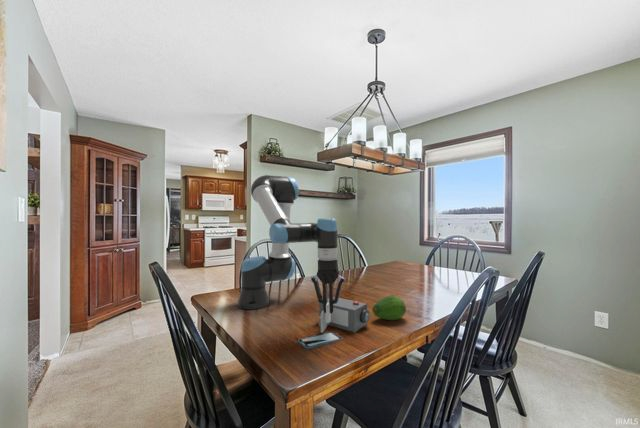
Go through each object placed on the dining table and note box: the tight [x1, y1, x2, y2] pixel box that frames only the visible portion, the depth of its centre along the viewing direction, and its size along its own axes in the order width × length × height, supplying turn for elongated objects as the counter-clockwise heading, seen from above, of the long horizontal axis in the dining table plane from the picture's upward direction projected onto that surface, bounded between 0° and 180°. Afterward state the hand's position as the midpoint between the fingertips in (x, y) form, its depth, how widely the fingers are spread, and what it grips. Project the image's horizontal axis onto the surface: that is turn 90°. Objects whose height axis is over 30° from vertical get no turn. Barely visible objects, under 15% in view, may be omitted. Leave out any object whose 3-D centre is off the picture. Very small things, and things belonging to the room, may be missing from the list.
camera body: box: [318, 296, 370, 333], centre depth 116 cm, size 19×10×9 cm, turn 53°
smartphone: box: [297, 331, 343, 350], centre depth 100 cm, size 7×1×15 cm
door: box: [318, 311, 329, 334], centre depth 109 cm, size 10×2×7 cm, turn 165°
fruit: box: [371, 295, 407, 321], centre depth 120 cm, size 15×10×10 cm, turn 107°
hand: (328, 321), depth 106 cm, fingers closed
